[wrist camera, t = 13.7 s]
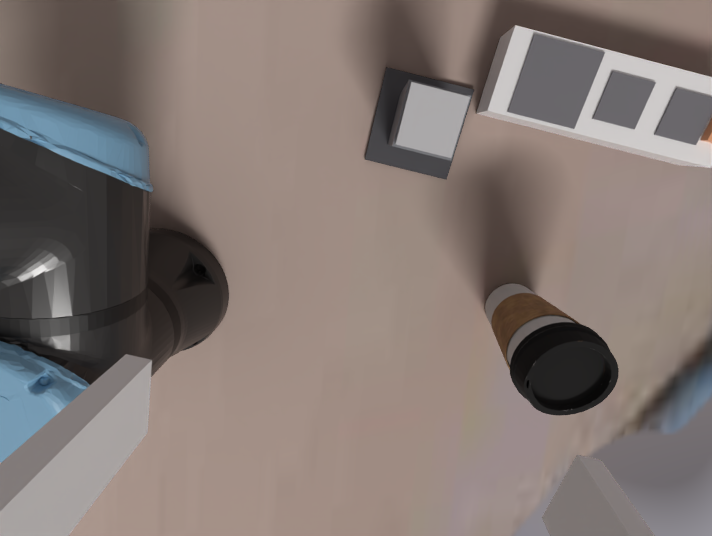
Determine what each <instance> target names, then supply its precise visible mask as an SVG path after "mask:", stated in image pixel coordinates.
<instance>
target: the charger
mask: <svg viewBox="0 0 712 536" xmlns="http://www.w3.org/2000/svg"><path fill="white" fill-rule="evenodd" d="M470 99H471V95H467V94H463V93H459V92H456V91H452V90H448V89H444V88H440V87H436V86H432V85H428V84H424V83H420V82H417V81H413V80H409V81H408V82H407V84H406V85H405V87H404V89H403V90H402V92H401V94H400V97H399V101H398V105H397V109H396V113H395V117H394V121H393V125H392V129H391V133H390V137H389V141H388V145H390V146H394V147H398V148H402V149H406V150H410V151H414V152H418V153H422V154H426V155H430V156H434V157H438V158H442V159H446V160H450V161H452V157H453V154H454V151H455V148H456V144H457V141H458V138H459V135H460V131H461V128H462V125H463V122H464V118H465V115H466V112H467V109H468V106H469V102H470Z"/></svg>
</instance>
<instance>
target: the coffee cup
mask: <svg viewBox="0 0 712 536" xmlns="http://www.w3.org/2000/svg"><path fill="white" fill-rule="evenodd" d="M485 312H486V315H487V318H488V320H489V322H490V324H491V327H492V329H493V332H494V334H495V337H496V339H497V341H498V344H499V346H500V349H501V351H502V353H503V356H504V358H505V361H506V363H507V366H508V367H509V369H510V375H511V378H512V381H513V383H514V385H515V387H516V388H517V390H518V391H519V393H520V394H521V395H522V396H523V397H524V398H526V399H527V400H528V401H529V402H530V403H531V405H532V406H534V407H535V408H536V409H537V410H539V411H541V412H543V413H546V414H551V415H570V414H576V413H579V412H583V411H585V410H588V409H590V408H592V407H594V406H596V405H598V404H599V403H601V402H602V401H603V400H604V399H605V398H607V396H608V395H609V394H610V393H611V392H612V390H613V389H614V387H615V385H616V382H617V379H618V365H617V362H616V360H615V358H614V356H613V355H612V353H611V352H610V350H609V348H608V346H607V344H606V343H605V341H604V340H603V339H602V338H601V337H600V336H599V335H598V334H597V333H596V332H595V331H593V330H592V329H590V328H589V327H586V326H584V325H582V324H580V323H578V322H577V321H575V320H574V319H573V318H571V317H570V316H568V315H567V314H565V313H564V312H562V311H561V310H559V309H558V308H556V307H555V306H553V305H552V304H550V303H549V302H547V301H546V300H544V299H543V298H541V297H540V296H538V295H536V294H535V293H534V292H532V291H531V290H529V289H528V288H527V287H525V286H523V285H520V284H505V285H502V286H500V287H498V288H497V289H495V290H494V291H493V292H492V293H491V294H490V295H489V297H488V299H487V301H486V304H485Z"/></svg>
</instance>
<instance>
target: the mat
mask: <svg viewBox="0 0 712 536" xmlns="http://www.w3.org/2000/svg"><path fill="white" fill-rule="evenodd" d="M409 80H413V81H417V82H420V83H424V84H428V85H432V86H436V87H440V88H444V89H448V90H452V91H456V92H459V93H463V94H467V95H471V98H472V95H473V92H474V90H473V89H470V88H466V87H462V86H458V85H454V84H450V83H446V82H442V81H438V80H435V79H431V78H427V77H423V76H419V75H415V74H411V73H407V72H403V71H400V70H396V69H392V68H388V67H387V68H386V72H385V76H384V81H383V85H382V89H381V93H380V98H379V102H378V106H377V110H376V115H375V119H374V123H373V128H372V132H371V136H370V140H369V145H368V149H367V153H366V157H365V160H370V161H374V162H378V163H382V164H386V165H390V166H394V167H398V168H402V169H406V170H410V171H414V172H418V173H422V174H426V175H430V176H434V177H438V178H442V179H447V176H448V173H449V169H450V166H451V163H452V161H450V160H446V159H442V158H438V157H434V156H430V155H426V154H422V153H418V152H414V151H410V150H406V149H402V148H398V147H394V146H390V145H388V141H389V137H390V133H391V129H392V125H393V121H394V117H395V113H396V109H397V105H398V101H399V97H400V94H401V92H402V90H403V89H404V87H405V85H406V84H407V82H408V81H409ZM470 102H471V99H470ZM470 102H469V105H470ZM468 108H469V106H468ZM467 111H468V109H467ZM466 115H467V112H466ZM466 115H465V118H466ZM465 118H464V121H465ZM463 124H464V122H463ZM462 127H463V125H462ZM461 131H462V128H461ZM461 131H460V134H461ZM459 137H460V135H459ZM458 140H459V138H458ZM457 144H458V141H457ZM457 144H456V147H457ZM455 150H456V148H455ZM454 153H455V151H454ZM453 157H454V154H453ZM453 157H452V160H453Z"/></svg>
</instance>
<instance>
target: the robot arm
mask: <svg viewBox="0 0 712 536" xmlns="http://www.w3.org/2000/svg"><path fill="white" fill-rule="evenodd" d="M151 192H153V186H152V184H151V183H150V170H149V147H148V143H147V140H146V138H145V136H144V135H143V133H142V132H141V131H140V130H139V129H138V128H137V127H136V126H135V125H133V124H132V123H130V122H128V121H126V120H123V119H120V118H117V117H114V116H111V115H108V114H105V113H101V112H98V111H95V110H91V109H88V108H84V107H81V106H78V105H74V104H71V103H67V102H64V101H60V100H56V99H53V98H49V97H46V96H43V95H39V94H36V93H32V92H29V91H25V90H22V89H18V88H15V87H11V86H7V85H4V84H0V462H1V463H0V536H69V534H70V533H71V532H72V530H73V529H74V528H75V526H76V525H77V524H78V523H79V521H80V520H81V519H82V517H83V516H84V515H85V513H86V512H87V511H88V510H89V508H90V507H91V506H92V504H93V503H94V502H95V500H96V499H97V498H98V497H99V495H100V494H101V493H102V491H103V490H104V489H105V487H106V486H107V485H108V483H109V482H110V481H111V480H112V478H113V477H114V476H115V474H116V473H117V472H118V470H119V469H120V468H121V467H122V465H123V464H124V463H125V461H126V460H127V459H128V457H129V456H130V455H131V454H132V452H133V451H134V450H135V448H136V447H137V446H138V444H139V443H140V442H141V440H142V439H143V438H144V437H145V435H146V434H147V433H148V418H149V401H150V385H151V377H152V376H153V375H154V374H155V372H156V371H157V370H158V369H159V368H160V367H161V366H162V365H163V364H164V363H165V362H166V361H167V359H168V358H169V357H171V356H173V355H175V354H177V353H179V352H180V351H182V350H186V349H189V348H192V347H194V346H196V345H198V344H199V343H201V342H202V341H204V340H205V339H206V338H208V337H209V336H210V335H211V334H212V332H213V331H214V330H215V329H216V328H217V326H218V325H219V324H220V323H221V321H222V319H223V318H224V316H225V313H226V310H227V307H228V299H229V293H228V285H227V281H226V278H225V275H224V273H223V271H222V269H221V267H220V265H219V264H218V262H217V261H216V259H215V258H214V257H213V255H212V254H211V253H210V252H209V251H208V250H207V249H206V248H205V247H204V246H202V245H201V244H200V243H198V242H197V241H195V240H194V239H192V238H190V237H188V236H186V235H184V234H182V233H179V232H176V231H172V230H167V229H150V196H151ZM542 518H543V521H544V523H545V525H546V528H547V530H548V532H549V534H550V536H655V535H654V534H653V532H652V531H651V530H650V528H649V527H648V525H647V524H646V522H645V521H644V520H643V518H642V517H641V516H640V514H639V513H638V511H637V510H636V509H635V507H634V506H633V504H632V503H631V501H630V500H629V499H628V497H627V496H626V494H625V493H624V492H623V490H622V489H621V487H620V486H619V485H618V483H617V482H616V480H615V479H614V478H613V476H612V475H611V473H610V472H609V471H608V469H607V468H606V466H605V465H604V464H603V462H602V461H601V460H599V459H595V458H590V457H586V456H581V455H577V456H576V458H575V459H574V461H573V463H572V465H571V466H570V468H569V470H568V472H567V474H566V475H565V477H564V479H563V481H562V483H561V484H560V486H559V488H558V490H557V492H556V493H555V495H554V497H553V499H552V500H551V502H550V504H549V506H548V508H547V510H546V511H545V513H544V515H543V517H542Z"/></svg>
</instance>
